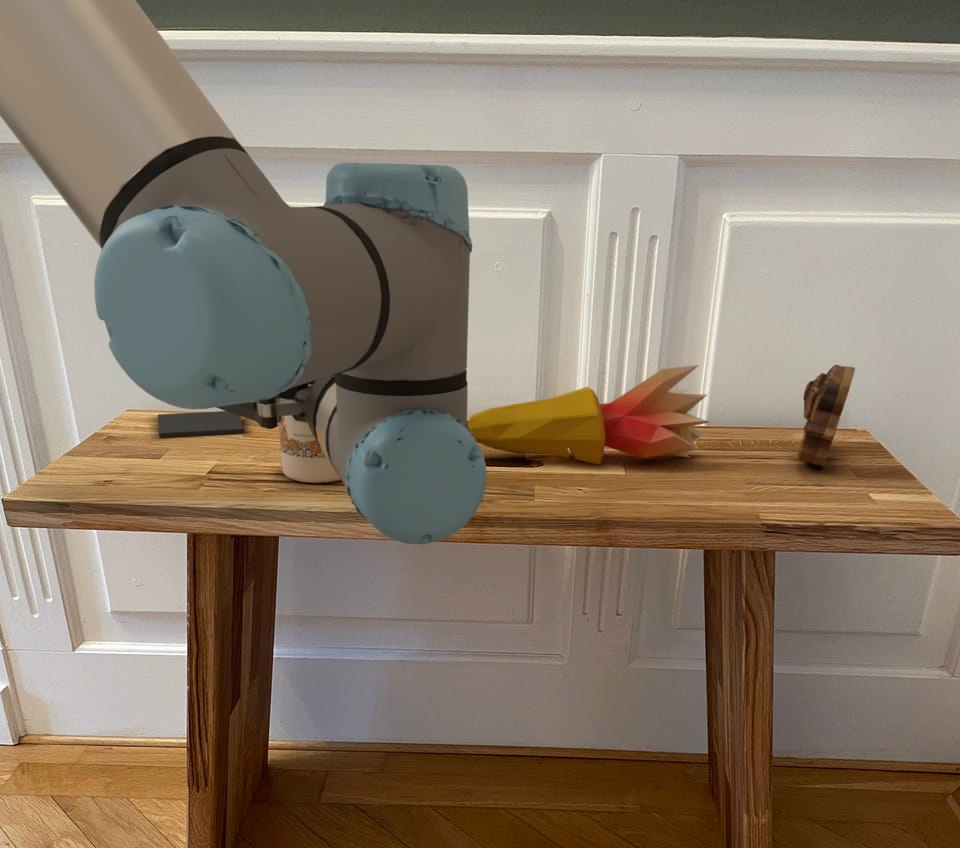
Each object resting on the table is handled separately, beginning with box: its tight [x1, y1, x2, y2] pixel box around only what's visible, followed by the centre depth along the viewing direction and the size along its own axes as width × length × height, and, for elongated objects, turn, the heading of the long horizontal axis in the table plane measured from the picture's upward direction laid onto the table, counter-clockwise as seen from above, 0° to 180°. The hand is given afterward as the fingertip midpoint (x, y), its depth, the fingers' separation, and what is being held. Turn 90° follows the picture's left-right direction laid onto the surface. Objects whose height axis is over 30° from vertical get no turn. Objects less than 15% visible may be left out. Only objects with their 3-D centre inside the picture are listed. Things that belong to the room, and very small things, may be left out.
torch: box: [467, 364, 711, 465], centre depth 93 cm, size 8×8×25 cm
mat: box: [157, 410, 245, 439], centre depth 104 cm, size 9×9×1 cm
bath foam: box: [278, 384, 342, 484], centre depth 83 cm, size 7×7×20 cm
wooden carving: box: [797, 364, 856, 468], centre depth 93 cm, size 16×5×10 cm, turn 162°
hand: (319, 365), depth 80 cm, fingers open, 13 cm apart
